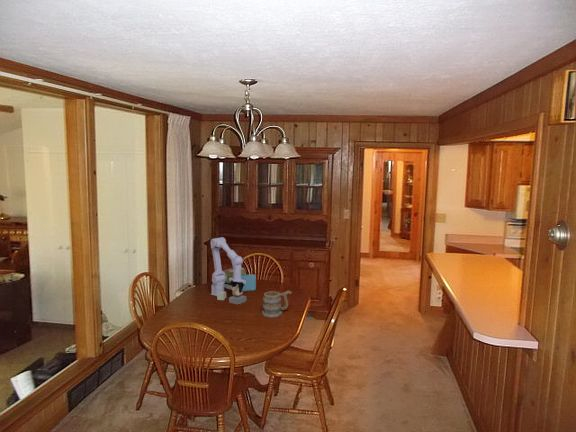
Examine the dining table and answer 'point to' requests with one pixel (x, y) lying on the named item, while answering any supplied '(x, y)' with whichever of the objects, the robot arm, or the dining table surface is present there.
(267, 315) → the tankard
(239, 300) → the base block
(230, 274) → the tea box
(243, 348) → the dining table surface
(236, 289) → the maple cube
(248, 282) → the data package
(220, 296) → the sage block
